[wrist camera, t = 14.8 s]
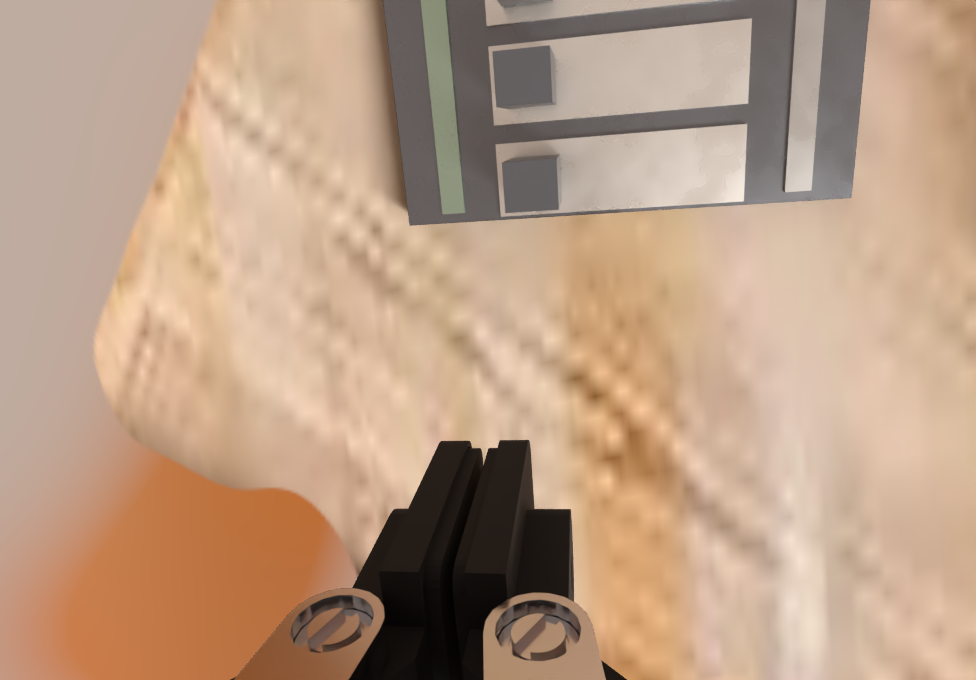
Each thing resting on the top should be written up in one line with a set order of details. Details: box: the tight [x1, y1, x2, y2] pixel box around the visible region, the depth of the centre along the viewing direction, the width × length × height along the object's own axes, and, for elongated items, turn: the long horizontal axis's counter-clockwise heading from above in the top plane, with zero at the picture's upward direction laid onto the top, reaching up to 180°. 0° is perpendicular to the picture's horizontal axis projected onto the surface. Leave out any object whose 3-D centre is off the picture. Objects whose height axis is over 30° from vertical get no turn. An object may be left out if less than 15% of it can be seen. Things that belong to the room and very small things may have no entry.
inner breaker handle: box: [502, 154, 562, 213], centre depth 30 cm, size 2×2×4 cm
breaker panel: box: [383, 0, 870, 225], centre depth 31 cm, size 13×22×2 cm, turn 94°
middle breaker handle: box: [492, 45, 557, 109], centre depth 28 cm, size 2×2×4 cm
